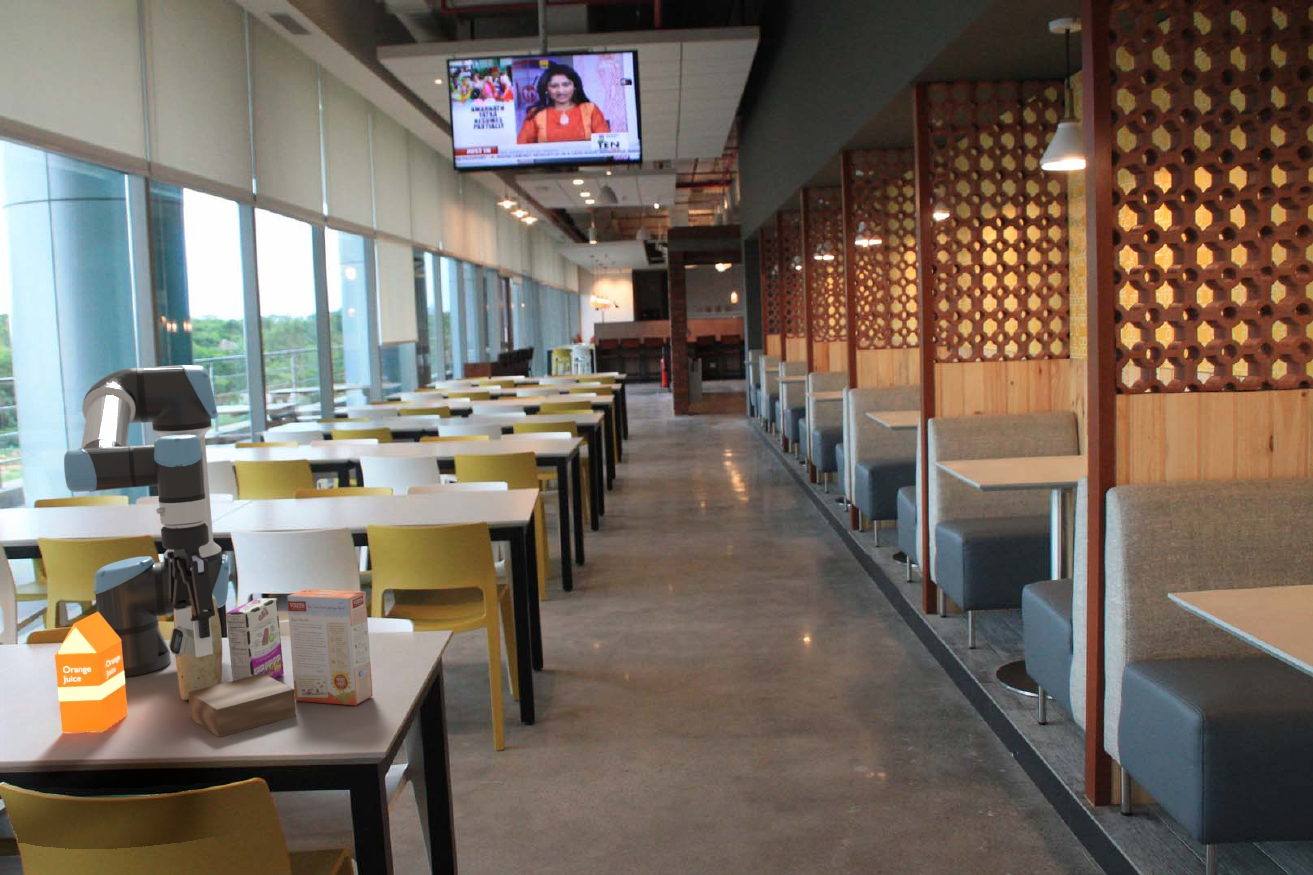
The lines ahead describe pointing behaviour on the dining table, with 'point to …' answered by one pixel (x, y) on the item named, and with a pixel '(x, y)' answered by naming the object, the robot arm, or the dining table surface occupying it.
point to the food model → (201, 662)
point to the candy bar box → (255, 639)
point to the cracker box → (330, 646)
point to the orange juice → (91, 677)
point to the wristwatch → (182, 641)
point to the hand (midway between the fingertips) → (194, 649)
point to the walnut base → (241, 704)
